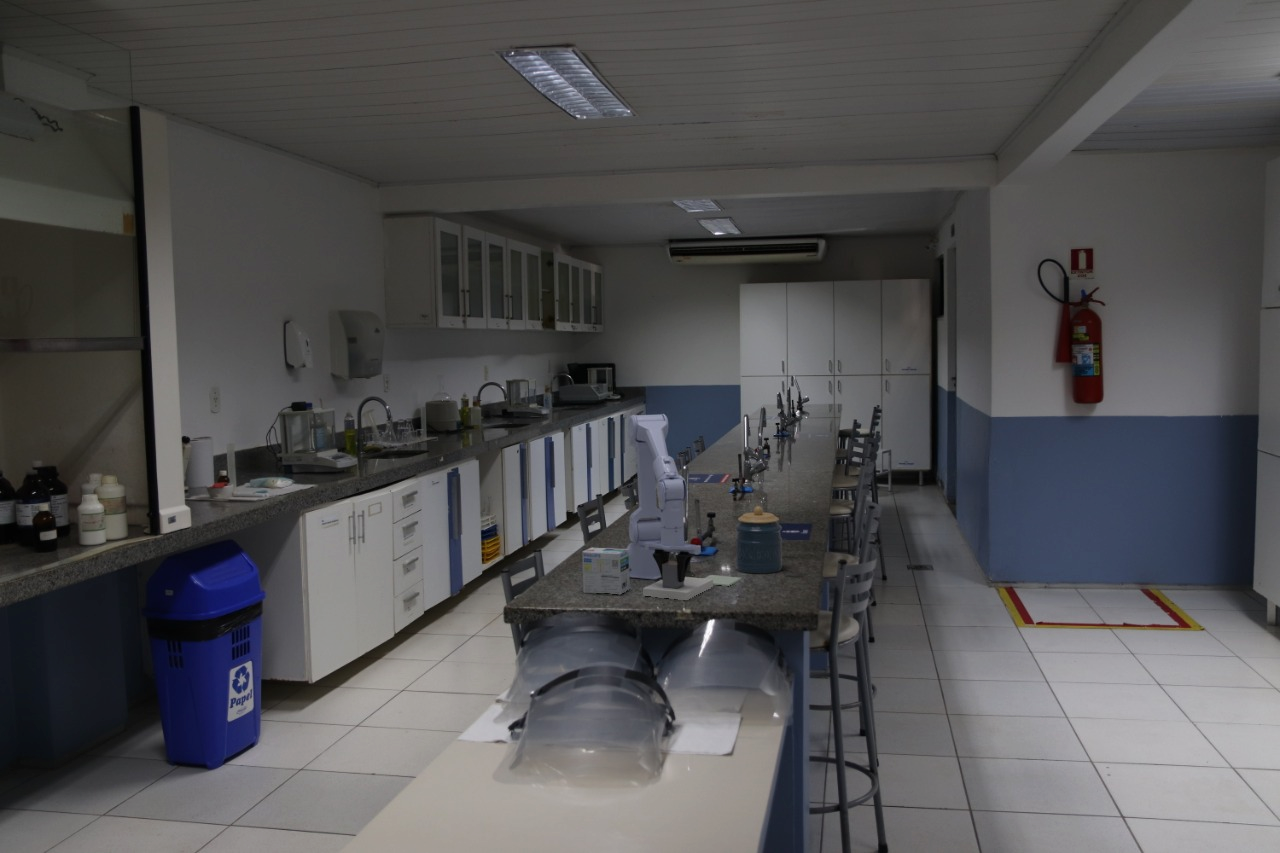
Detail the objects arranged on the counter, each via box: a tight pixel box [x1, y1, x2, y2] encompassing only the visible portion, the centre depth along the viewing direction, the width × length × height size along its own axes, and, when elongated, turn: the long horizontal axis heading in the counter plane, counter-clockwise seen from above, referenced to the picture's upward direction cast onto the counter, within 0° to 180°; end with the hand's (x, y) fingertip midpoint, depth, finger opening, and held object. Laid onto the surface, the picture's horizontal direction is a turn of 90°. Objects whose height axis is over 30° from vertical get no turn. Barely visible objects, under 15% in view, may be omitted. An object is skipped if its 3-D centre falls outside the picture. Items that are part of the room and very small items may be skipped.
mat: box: [703, 574, 743, 587], centre depth 266 cm, size 9×9×1 cm
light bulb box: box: [581, 546, 631, 595], centre depth 257 cm, size 11×7×11 cm, turn 71°
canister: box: [734, 505, 783, 574], centre depth 280 cm, size 13×13×18 cm
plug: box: [661, 560, 684, 589], centre depth 252 cm, size 4×4×7 cm
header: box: [642, 576, 714, 601], centre depth 255 cm, size 12×16×2 cm
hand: (673, 580), depth 252 cm, fingers closed on plug, 4 cm apart
